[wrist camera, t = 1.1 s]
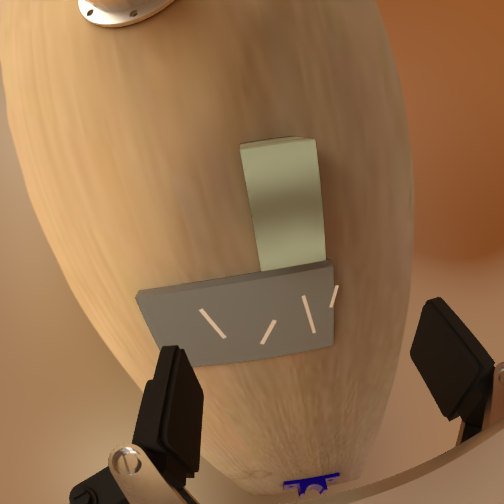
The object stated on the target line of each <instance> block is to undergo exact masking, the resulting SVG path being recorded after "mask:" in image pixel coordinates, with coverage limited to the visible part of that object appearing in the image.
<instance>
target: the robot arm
mask: <svg viewBox="0 0 504 504" xmlns="http://www.w3.org/2000/svg"><path fill="white" fill-rule="evenodd" d="M173 1H174V0H78V4H79V10H80V12H81V14H82V16H83V17H84V18H85V19H86V20H88V21H89V22H91V23H93V24H95V25H98V26H101V27H108V28H110V27H122V26H127V25H131V24H134V23H137V22H140V21H142V20H144V19H147V18H149V17H151V16H153V15H155V14H156V13H158V12H160V11H161V10H163V9H164V8H166V7H167V6H168V5H170V4H171V3H172V2H173ZM136 15H137V16H136ZM410 356H411V359H412V361H413V362H414V364H415V366H416V367H417V369H418V371H419V372H420V374H421V376H422V378H423V379H424V381H425V383H426V385H427V387H428V388H429V390H430V392H431V394H432V396H433V397H434V399H435V401H436V403H437V405H438V407H439V409H440V411H441V413H442V414H443V416H445V417H447V418H448V420H449V421H451V420H453V419H455V418H457V417H459V415H460V417H461V419H462V421H461V426H460V430H459V434H458V438H457V442H456V446H455V447H454V448H453V449H451V450H449V451H447V452H445V453H443V454H441V455H439V456H437V457H435V458H433V459H431V460H429V461H427V462H425V463H423V464H421V465H418V466H416V467H414V468H412V469H409V470H407V471H404V472H402V473H399V474H397V475H394V476H391V477H389V478H386V479H383V480H381V481H378V482H375V483H372V484H368V485H365V486H362V487H359V488H355V489H352V490H348V491H344V492H341V493H337V494H333V495H328V496H323V497H319V498H313V499H308V500H303V501H296V502H290V503H282V504H504V362H501V363H499V364H498V365H497V366H496V368H495V367H494V364H495V362H494V361H493V359H492V358H491V357H490V355H489V354H488V353H487V351H486V350H485V349H484V347H483V346H482V345H481V344H480V342H479V341H478V340H477V339H476V337H475V336H474V335H473V334H472V333H471V332H470V330H469V329H468V328H467V327H466V326H465V324H464V323H463V322H462V321H461V320H460V318H459V317H458V316H457V315H456V314H455V313H454V311H453V310H452V309H451V308H450V307H449V306H448V305H447V304H446V303H445V301H444V300H443V299H442V298H440V297H437V298H434V299H430V300H428V301H427V302H426V304H425V305H424V306H423V309H422V312H421V316H420V320H419V324H418V327H417V330H416V334H415V337H414V341H413V344H412V347H411V350H410ZM203 401H204V395H203V390H202V388H201V386H200V384H199V382H198V379H197V377H196V375H195V373H194V371H193V368H192V366H191V364H190V362H189V359H188V357H187V355H186V352H185V350H184V349H180V348H179V346H178V345H171V346H162V348H161V351H160V355H159V358H158V362H157V366H156V370H155V374H154V378H153V380H149V381H148V382H147V383H146V386H145V390H144V394H143V398H142V402H141V406H140V410H139V414H138V418H137V422H136V427H135V431H134V435H133V440H132V444H122V445H119V446H117V447H116V448H115V449H113V450H112V452H111V453H110V455H109V458H108V467H106V468H104V469H103V470H101V471H99V472H98V473H96V474H95V475H93V476H91V477H90V478H88V479H87V480H84V481H83V482H81V483H79V484H78V485H76V486H75V487H74V488H73V489H72V490H71V492H70V496H69V500H70V503H69V504H199V503H198V502H197V500H196V499H195V498H194V497H193V496H192V495H191V494H190V493H189V492H188V490H187V489H186V488H185V487H184V486H185V485H186V478H194V473H195V472H198V470H199V462H200V445H201V429H202V414H203Z"/></svg>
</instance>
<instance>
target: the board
mask: <svg viewBox="0 0 504 504" xmlns="http://www.w3.org/2000/svg"><path fill="white" fill-rule="evenodd" d="M338 287H339V285H335V289H334V266H333V264H332V263H331V261H330V259H329V260H324V261H319V262H313V263H308V264H302V265H296V266H291V267H285V268H279V269H273V270H267V271H262V272H255V273H249V274H243V275H237V276H231V277H225V278H219V279H213V280H206V281H200V282H194V283H187V284H181V285H174V286H167V287H161V288H154V289H147V290H140V291H138V293H137V295H136V297H135V299H136V301H137V304H138V306H139V308H140V310H141V312H142V315H143V317H144V319H145V321H146V323H147V325H148V327H149V330H150V332H151V334H152V336H153V338H154V340H155V342H156V344H157V346H158V348H159V350H160V351H161V348H162V346H171V345H178V346H179V348H180V349H184V350H185V352H186V355H187V357H188V359H189V362H190V364H191V366H192V367H199V366H210V365H220V364H229V363H237V362H245V361H252V360H259V359H266V358H272V357H278V356H284V355H289V354H295V353H300V352H305V351H310V350H315V349H320V348H325V347H329V346H333V338H334V301H335V297H336V294H337V291H338Z"/></svg>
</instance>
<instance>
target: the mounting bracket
mask: <svg viewBox="0 0 504 504" xmlns="http://www.w3.org/2000/svg"><path fill="white" fill-rule="evenodd" d="M339 476H340V475H339V473H334V474H330V475H325V476H319V477H314V478H307V479H301V480H293V481H285V482H284V483H283V490H287V489H295V488H297V489H298V495H299V498H302V497H303V495H304V494H305V491H306V490H308V489H315V490H318V491H319V493H320V494H324V493H325V492H326V490H327V485H326V483H330V482H335V481H336V480H337V479H338V477H339Z"/></svg>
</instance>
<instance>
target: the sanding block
mask: <svg viewBox="0 0 504 504" xmlns="http://www.w3.org/2000/svg"><path fill="white" fill-rule="evenodd" d="M240 153H241V159H242V164H243V170H244V176H245V181H246V187H247V192H248V198H249V204H250V209H251V215H252V221H253V226H254V232H255V238H256V243H257V249H258V255H259V261H260V266H261V272H262V271H267V270H273V269H279V268H285V267H291V266H296V265H302V264H308V263H313V262H319V261H324V260H326V252H325V235H324V220H323V207H322V196H321V185H320V176H319V166H318V158H317V150H316V142H315V140H313V139H308V138H302V137H297V136H288V137H280V138H273V139H266V140H259V141H253V142H247V143H241V144H240Z"/></svg>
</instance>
